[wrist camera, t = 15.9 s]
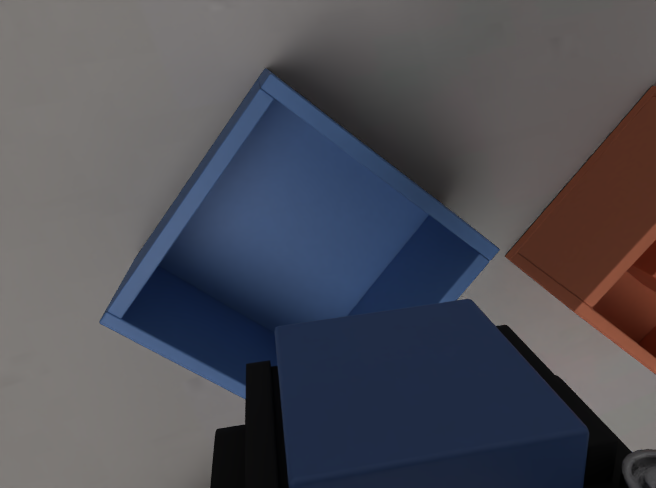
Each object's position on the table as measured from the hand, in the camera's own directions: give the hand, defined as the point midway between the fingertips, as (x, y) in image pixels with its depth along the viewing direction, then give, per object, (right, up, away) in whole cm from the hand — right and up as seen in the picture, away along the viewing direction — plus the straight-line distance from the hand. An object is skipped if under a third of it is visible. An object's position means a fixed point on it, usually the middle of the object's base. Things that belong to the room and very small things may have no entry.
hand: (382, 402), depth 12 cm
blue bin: (-3, +4, +15) cm, 15 cm away
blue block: (0, 0, 0) cm, 0 cm away
